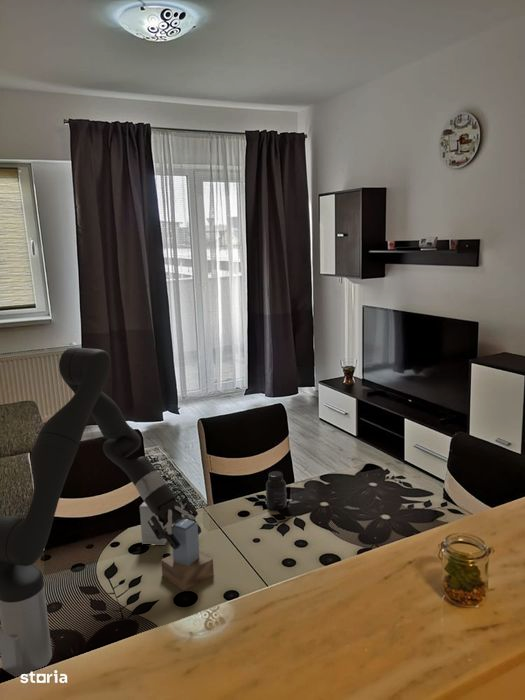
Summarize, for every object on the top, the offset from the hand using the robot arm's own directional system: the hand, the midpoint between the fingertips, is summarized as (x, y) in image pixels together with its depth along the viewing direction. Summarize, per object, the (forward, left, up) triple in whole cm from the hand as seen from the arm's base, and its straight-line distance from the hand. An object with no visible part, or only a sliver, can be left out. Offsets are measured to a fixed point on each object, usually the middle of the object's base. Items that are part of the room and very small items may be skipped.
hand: (188, 540), depth 151 cm
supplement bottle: (+47, +2, -11) cm, 48 cm away
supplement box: (+10, +22, -11) cm, 27 cm away
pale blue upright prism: (0, +1, -6) cm, 6 cm away
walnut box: (0, +1, -11) cm, 11 cm away
